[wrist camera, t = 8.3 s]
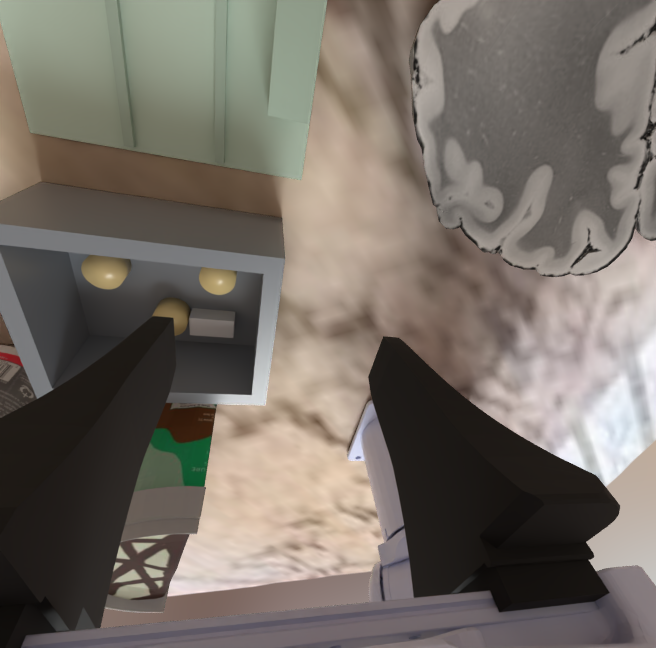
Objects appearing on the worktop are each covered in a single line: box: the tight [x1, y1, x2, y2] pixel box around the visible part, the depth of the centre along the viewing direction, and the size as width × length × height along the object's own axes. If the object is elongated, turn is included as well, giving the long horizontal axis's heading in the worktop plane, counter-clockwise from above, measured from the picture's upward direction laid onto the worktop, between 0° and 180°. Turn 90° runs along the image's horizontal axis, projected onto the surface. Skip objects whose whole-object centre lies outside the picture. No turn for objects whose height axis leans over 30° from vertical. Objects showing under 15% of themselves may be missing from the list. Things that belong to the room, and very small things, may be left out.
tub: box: [0, 182, 285, 405], centre depth 17 cm, size 11×9×5 cm
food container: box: [105, 403, 217, 613], centre depth 22 cm, size 12×6×10 cm, turn 156°
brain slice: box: [409, 0, 656, 277], centre depth 15 cm, size 20×17×3 cm
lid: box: [0, 0, 327, 180], centre depth 12 cm, size 12×10×5 cm
